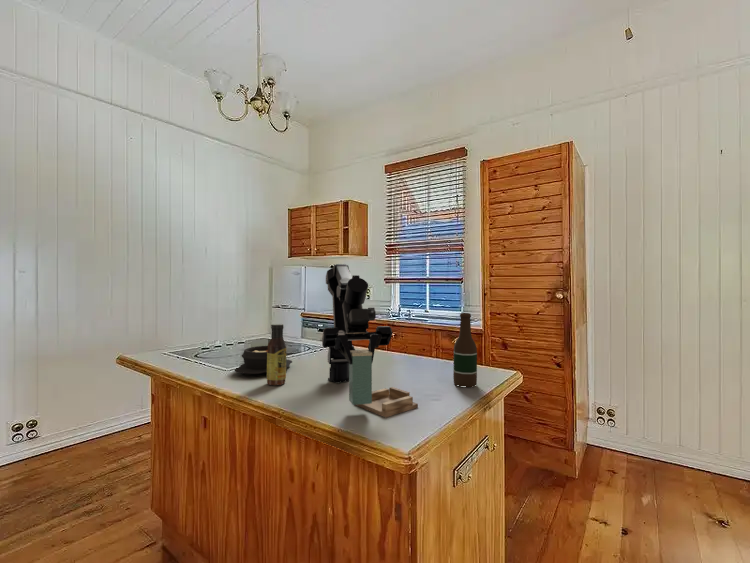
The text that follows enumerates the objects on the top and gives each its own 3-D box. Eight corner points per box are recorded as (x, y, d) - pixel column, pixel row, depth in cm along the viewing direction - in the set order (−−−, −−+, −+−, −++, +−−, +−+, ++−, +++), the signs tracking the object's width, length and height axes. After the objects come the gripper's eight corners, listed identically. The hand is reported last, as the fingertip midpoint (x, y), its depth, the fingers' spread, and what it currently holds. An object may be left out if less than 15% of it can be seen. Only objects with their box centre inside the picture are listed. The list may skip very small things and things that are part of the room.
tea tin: (348, 399, 101) (348, 350, 102) (367, 398, 102) (367, 349, 103) (352, 404, 96) (352, 353, 97) (372, 403, 97) (372, 352, 98)
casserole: (264, 381, 131) (264, 356, 131) (221, 376, 137) (221, 352, 137) (303, 366, 154) (303, 345, 154) (265, 362, 161) (265, 342, 161)
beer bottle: (478, 383, 129) (479, 312, 129) (474, 389, 122) (475, 314, 122) (456, 380, 133) (456, 311, 133) (450, 386, 126) (451, 313, 125)
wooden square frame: (385, 396, 114) (386, 384, 114) (417, 407, 104) (417, 394, 104) (354, 404, 106) (354, 392, 106) (385, 417, 97) (385, 403, 97)
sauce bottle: (280, 387, 123) (281, 325, 123) (263, 385, 125) (263, 325, 125) (289, 381, 130) (289, 323, 130) (272, 380, 131) (272, 323, 131)
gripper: (323, 297, 101) (328, 346, 90) (391, 297, 106) (402, 343, 95) (320, 323, 109) (324, 371, 98) (383, 322, 113) (393, 367, 103)
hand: (361, 363), depth 98 cm, fingers closed on tea tin, 5 cm apart
